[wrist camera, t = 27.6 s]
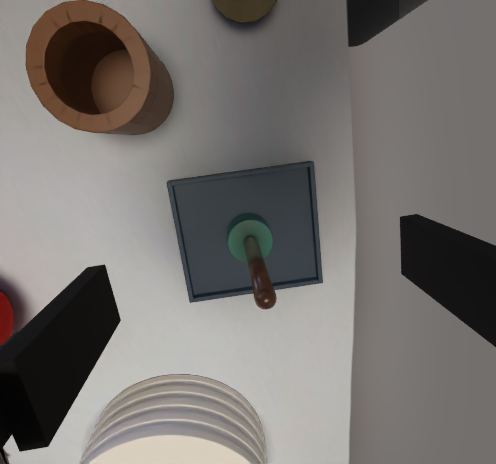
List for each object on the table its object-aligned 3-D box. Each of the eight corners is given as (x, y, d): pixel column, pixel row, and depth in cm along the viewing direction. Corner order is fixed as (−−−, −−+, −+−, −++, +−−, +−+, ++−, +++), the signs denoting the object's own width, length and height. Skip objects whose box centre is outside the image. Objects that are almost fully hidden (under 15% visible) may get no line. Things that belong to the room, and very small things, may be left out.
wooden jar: (164, 41, 41) (136, -7, 28) (180, 128, 44) (161, 124, 30) (79, 51, 41) (9, 8, 27) (100, 139, 44) (45, 139, 30)
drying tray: (310, 161, 46) (313, 161, 44) (319, 278, 51) (323, 282, 49) (168, 180, 45) (166, 182, 44) (190, 297, 50) (189, 303, 48)
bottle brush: (266, 210, 47) (299, 264, 27) (271, 250, 48) (305, 329, 28) (224, 216, 47) (225, 275, 26) (230, 256, 48) (236, 340, 28)
